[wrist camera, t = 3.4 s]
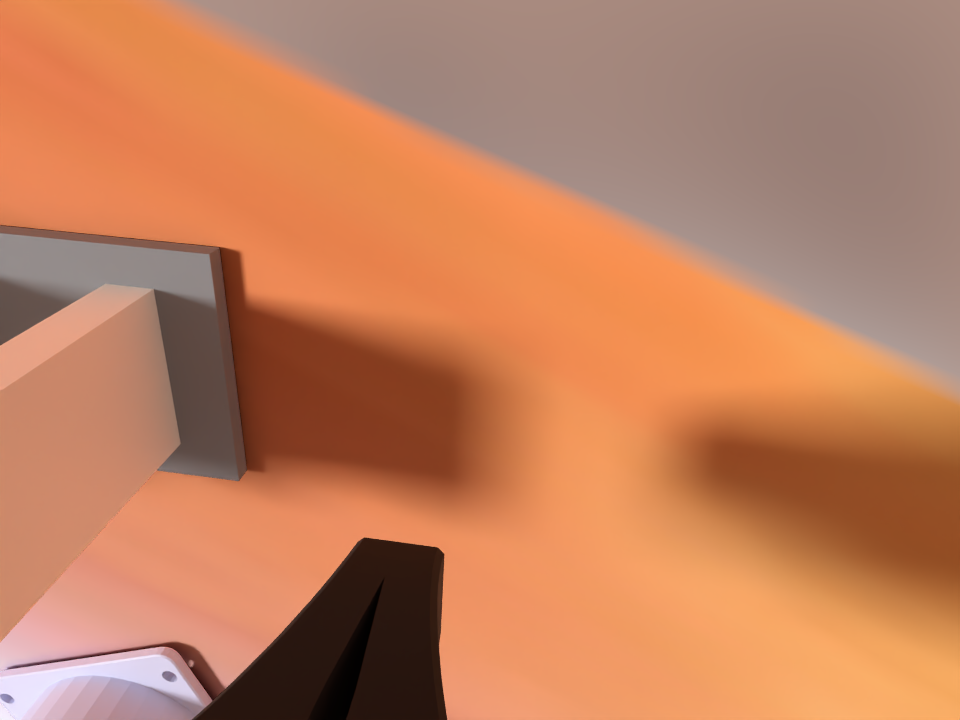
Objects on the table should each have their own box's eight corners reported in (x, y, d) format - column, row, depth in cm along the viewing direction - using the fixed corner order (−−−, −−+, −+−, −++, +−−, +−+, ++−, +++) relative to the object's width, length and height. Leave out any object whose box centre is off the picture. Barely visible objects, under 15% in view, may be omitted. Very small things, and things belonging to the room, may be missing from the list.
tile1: (153, 288, 16) (-215, 534, 9) (180, 443, 18) (-99, 751, 11) (105, 283, 16) (-301, 521, 9) (137, 438, 18) (-169, 739, 11)
